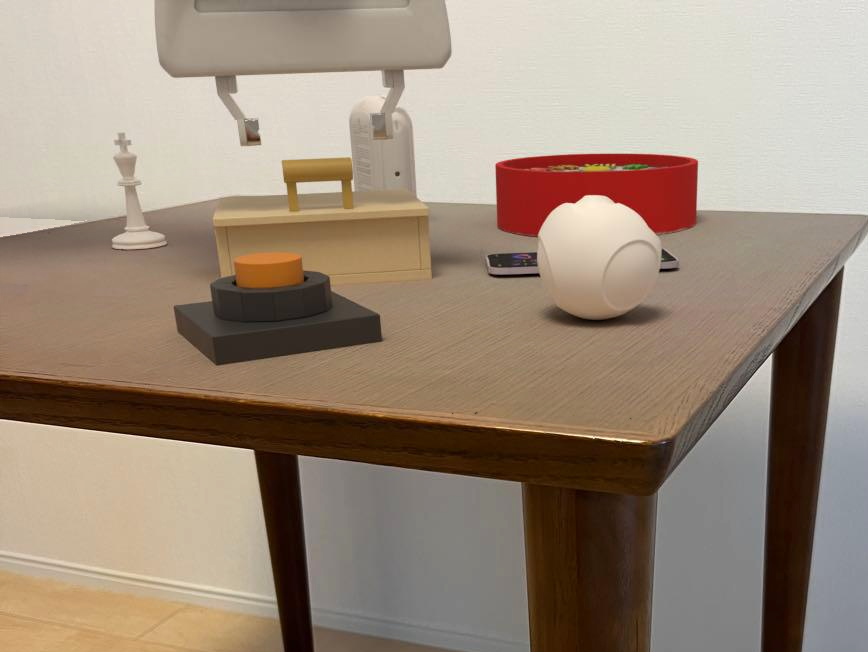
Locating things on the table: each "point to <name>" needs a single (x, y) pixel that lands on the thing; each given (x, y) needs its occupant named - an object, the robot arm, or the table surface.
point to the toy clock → (597, 188)
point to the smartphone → (528, 263)
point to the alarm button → (268, 270)
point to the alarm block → (274, 320)
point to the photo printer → (381, 149)
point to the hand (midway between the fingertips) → (317, 142)
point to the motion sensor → (597, 257)
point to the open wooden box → (338, 247)
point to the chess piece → (133, 205)
